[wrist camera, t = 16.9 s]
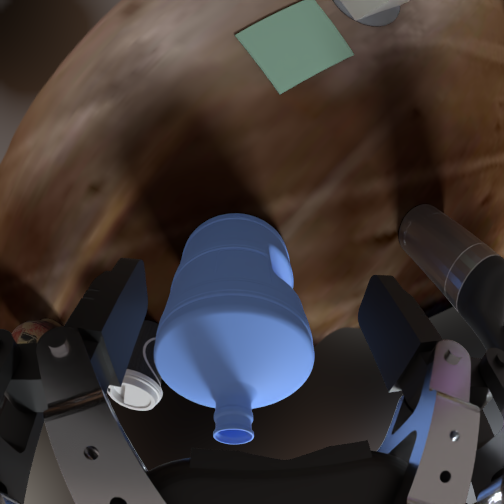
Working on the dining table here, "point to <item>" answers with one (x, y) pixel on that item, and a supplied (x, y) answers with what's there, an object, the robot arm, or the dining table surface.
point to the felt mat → (294, 44)
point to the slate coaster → (375, 19)
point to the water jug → (234, 324)
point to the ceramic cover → (369, 6)
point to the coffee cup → (140, 374)
